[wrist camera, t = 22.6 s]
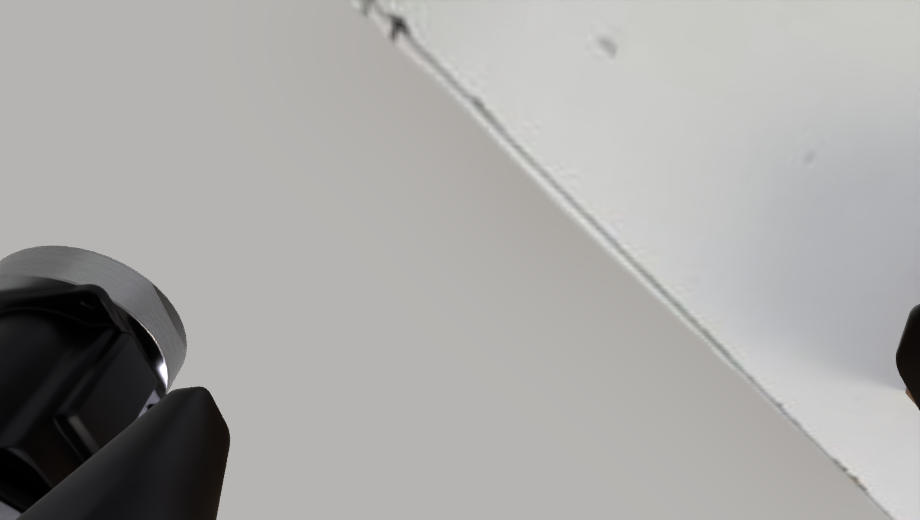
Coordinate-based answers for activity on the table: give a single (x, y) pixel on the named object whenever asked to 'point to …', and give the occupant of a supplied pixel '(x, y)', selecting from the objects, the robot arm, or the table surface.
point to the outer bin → (910, 396)
